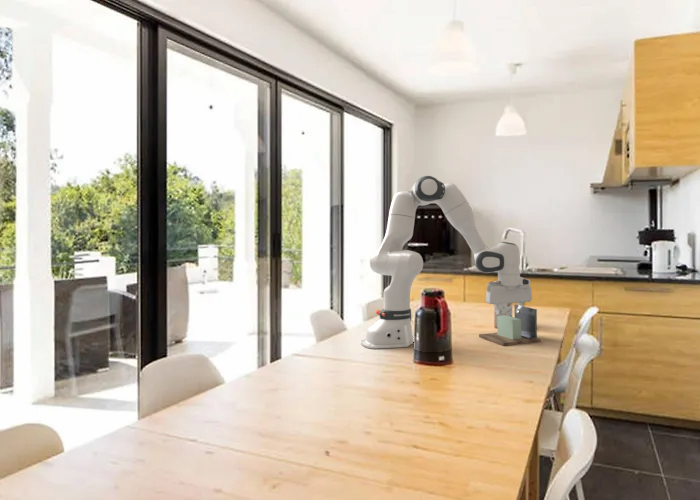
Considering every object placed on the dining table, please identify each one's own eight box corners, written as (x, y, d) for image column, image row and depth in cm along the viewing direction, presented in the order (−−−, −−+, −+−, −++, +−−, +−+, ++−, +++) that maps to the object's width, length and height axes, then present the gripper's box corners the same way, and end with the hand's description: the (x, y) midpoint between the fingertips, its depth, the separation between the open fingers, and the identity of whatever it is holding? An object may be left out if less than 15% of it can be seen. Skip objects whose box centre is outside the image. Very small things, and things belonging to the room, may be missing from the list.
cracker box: (507, 328, 241) (506, 283, 240) (493, 327, 244) (493, 283, 243) (513, 323, 253) (513, 280, 252) (500, 322, 256) (500, 280, 255)
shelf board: (503, 346, 208) (503, 343, 208) (479, 337, 225) (479, 334, 225) (541, 341, 214) (541, 338, 214) (514, 333, 231) (514, 330, 231)
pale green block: (512, 339, 214) (512, 320, 213) (497, 334, 224) (497, 315, 224) (521, 338, 215) (520, 319, 215) (505, 333, 225) (505, 315, 225)
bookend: (529, 338, 214) (528, 309, 214) (508, 332, 228) (508, 305, 227) (536, 338, 215) (536, 309, 215) (516, 331, 229) (515, 304, 228)
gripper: (491, 282, 212) (491, 316, 212) (534, 280, 218) (534, 313, 218) (482, 281, 218) (482, 314, 218) (524, 279, 224) (524, 311, 224)
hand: (508, 313), depth 218 cm, fingers open, 8 cm apart
